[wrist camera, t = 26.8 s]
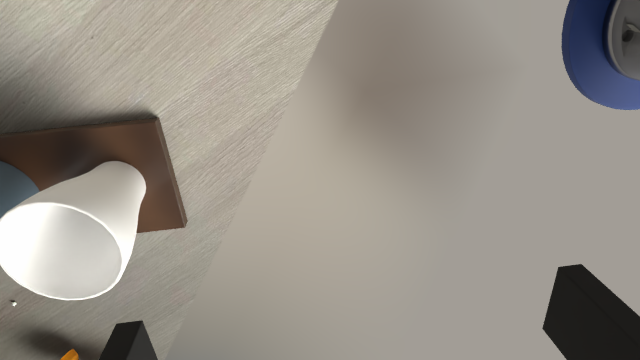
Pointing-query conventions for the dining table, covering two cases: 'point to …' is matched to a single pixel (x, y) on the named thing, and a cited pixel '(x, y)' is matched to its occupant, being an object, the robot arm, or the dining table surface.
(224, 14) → the dining table surface
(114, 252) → the cup
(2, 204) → the slate cup
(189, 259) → the dining table surface
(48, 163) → the walnut board
